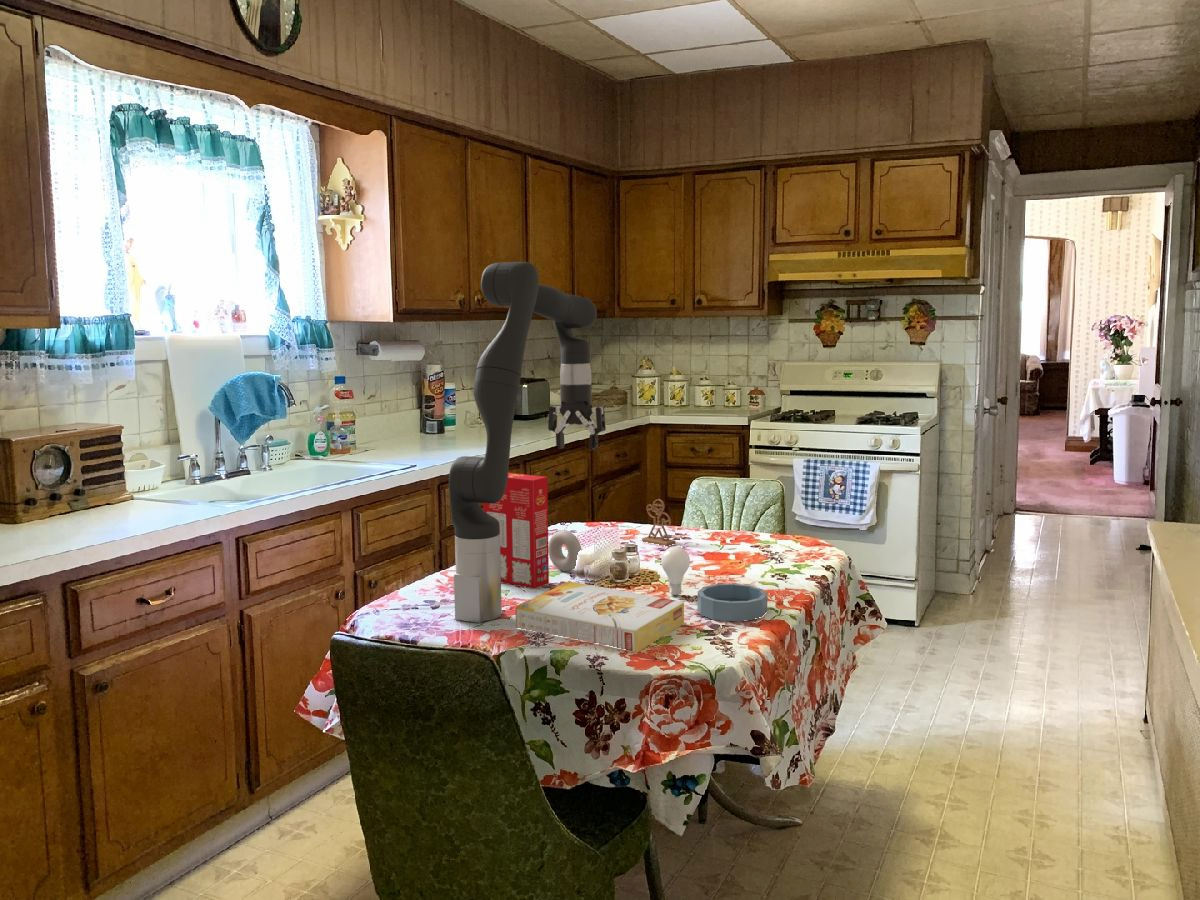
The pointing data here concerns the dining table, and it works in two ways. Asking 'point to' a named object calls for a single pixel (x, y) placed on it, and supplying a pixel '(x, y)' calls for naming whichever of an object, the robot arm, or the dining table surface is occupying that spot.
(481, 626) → the dining table surface
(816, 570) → the dining table surface
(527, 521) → the food packaging
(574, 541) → the donut
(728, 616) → the bowl
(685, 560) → the lightbulb
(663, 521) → the gingerbread man figurine
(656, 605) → the cereal box
